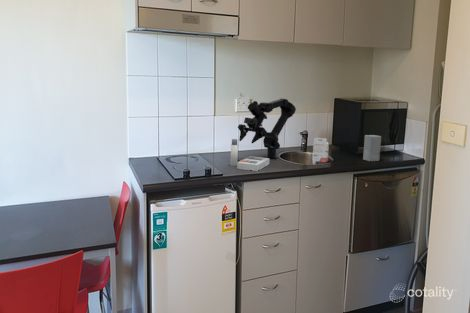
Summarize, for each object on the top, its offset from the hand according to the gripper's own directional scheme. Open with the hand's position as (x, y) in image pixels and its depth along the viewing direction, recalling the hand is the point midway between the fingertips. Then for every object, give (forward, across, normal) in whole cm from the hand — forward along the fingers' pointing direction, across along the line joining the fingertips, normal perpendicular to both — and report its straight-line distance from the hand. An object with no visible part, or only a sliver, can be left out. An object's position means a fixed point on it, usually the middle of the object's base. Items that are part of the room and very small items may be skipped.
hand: (245, 141), depth 248 cm
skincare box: (-34, +47, +59) cm, 83 cm away
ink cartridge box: (-17, +26, +39) cm, 50 cm away
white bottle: (+15, -2, +2) cm, 15 cm away
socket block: (+11, +9, +7) cm, 16 cm away
